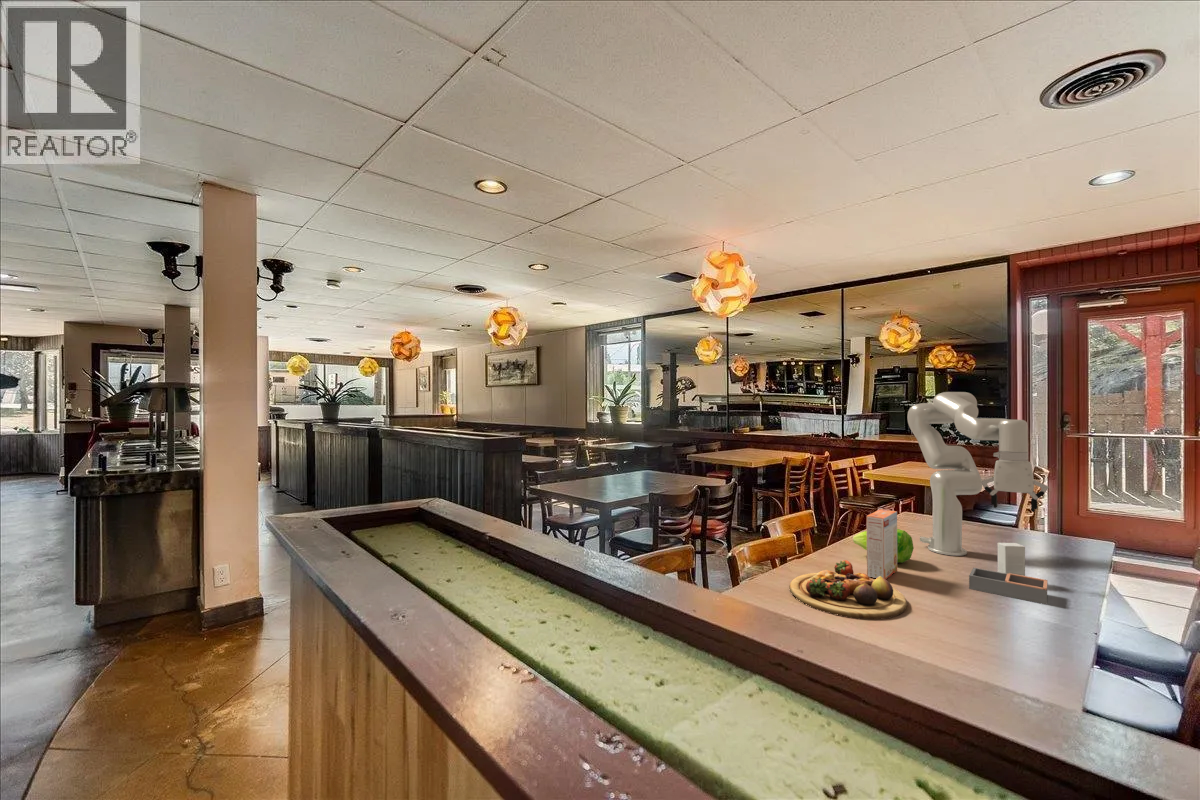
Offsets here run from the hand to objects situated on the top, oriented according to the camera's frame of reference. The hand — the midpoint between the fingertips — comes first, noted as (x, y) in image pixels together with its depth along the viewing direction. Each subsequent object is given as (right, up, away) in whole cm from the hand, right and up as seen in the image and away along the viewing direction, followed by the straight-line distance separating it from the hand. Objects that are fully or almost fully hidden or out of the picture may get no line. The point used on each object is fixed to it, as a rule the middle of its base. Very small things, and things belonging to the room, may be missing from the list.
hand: (1013, 509), depth 170 cm
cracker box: (-40, -24, +6) cm, 47 cm away
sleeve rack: (-10, -24, -10) cm, 27 cm away
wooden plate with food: (-62, -24, -14) cm, 68 cm away
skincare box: (-1, -24, 0) cm, 24 cm away
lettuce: (-31, -23, +22) cm, 45 cm away
